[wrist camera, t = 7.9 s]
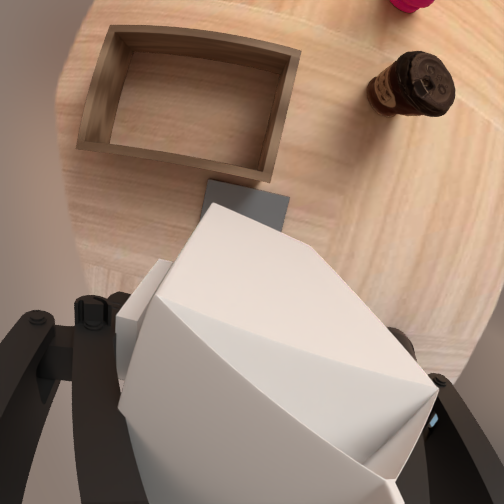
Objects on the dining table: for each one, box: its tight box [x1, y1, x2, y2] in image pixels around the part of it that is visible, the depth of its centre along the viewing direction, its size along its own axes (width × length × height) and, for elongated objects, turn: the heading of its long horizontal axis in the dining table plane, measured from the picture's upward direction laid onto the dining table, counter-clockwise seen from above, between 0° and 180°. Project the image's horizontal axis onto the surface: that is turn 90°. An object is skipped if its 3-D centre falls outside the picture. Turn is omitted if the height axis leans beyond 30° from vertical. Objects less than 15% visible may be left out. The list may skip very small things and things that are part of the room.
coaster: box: [200, 179, 290, 232], centre depth 42 cm, size 11×11×1 cm
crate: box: [76, 25, 301, 183], centre depth 33 cm, size 16×23×8 cm
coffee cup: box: [367, 51, 455, 117], centre depth 31 cm, size 9×8×13 cm
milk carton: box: [118, 203, 439, 504], centre depth 12 cm, size 7×7×19 cm
